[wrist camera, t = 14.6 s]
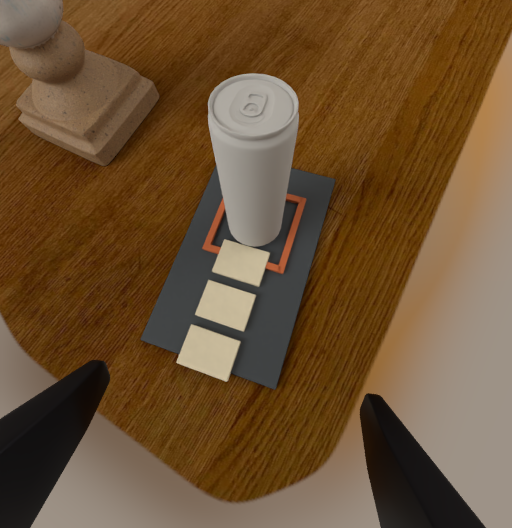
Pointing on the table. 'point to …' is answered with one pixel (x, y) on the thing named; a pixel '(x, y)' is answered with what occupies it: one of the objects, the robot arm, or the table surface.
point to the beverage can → (253, 152)
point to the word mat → (239, 286)
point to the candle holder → (72, 83)
